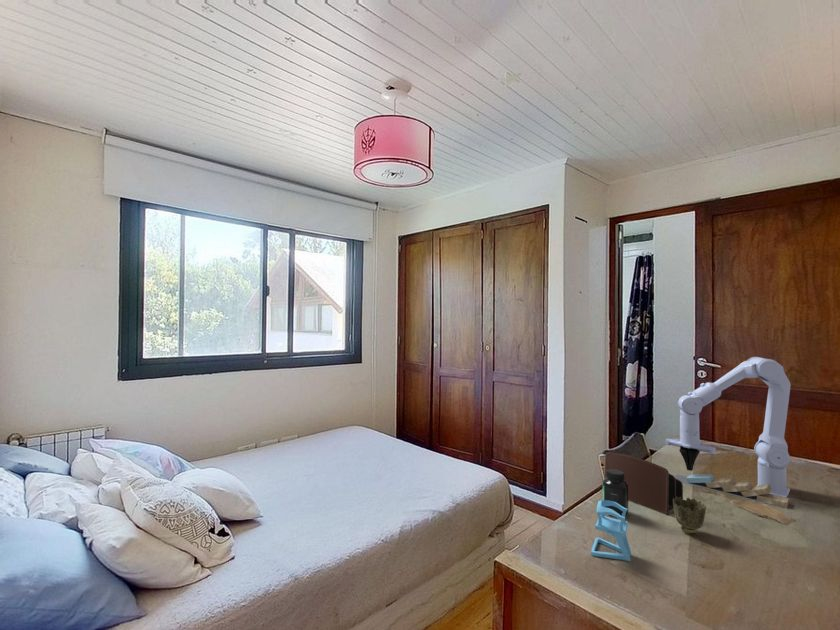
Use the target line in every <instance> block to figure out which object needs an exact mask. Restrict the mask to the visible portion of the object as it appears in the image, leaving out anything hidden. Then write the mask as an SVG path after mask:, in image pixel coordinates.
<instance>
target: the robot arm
mask: <svg viewBox="0 0 840 630" xmlns="http://www.w3.org/2000/svg"><path fill="white" fill-rule="evenodd" d="M784 368H785V367H784V366H782V364H780V363H778V362H777V360H774V359H771V358H764V357H761V356H760V357H759V356H752V357H750V358H748V359H747V360H744V361H743V362H741V363H739V364H738V365H737V366H736V367H734V368H732V369H731V370H729V372H727V373H726V374H724V375H723V376H721V377H720V378H719V379H717V380H716V381H714V382H706V383H704V382H702V383H700V385H699V387H698V388H696V389H694V390H692V391H688V392H687V394H688V395H681V396H680V397H679V398H678V399H679V400H678V401H677V402H676V403H677V404H676V405H677V406H678V408H679V439H676V438H675V439H674V438H665V446H674V447H678V448H679V453H680V454H681V456H682V458H683V461H684V463H685V467H686V471H690V472H692V471H694V466H695V463H696V460H697V458H698V456H699V454H700V452H703V453H708V454H711V455H715V454H716V447H714V446H710V445H707V444H703V443H701V441H700V413H701V411H702V409H703V407H706V406H707V405H708V404H710V403H711V402H714V401H715V400H717V399H719V398H720V397H721V395H722V392H723V391H724V390H726V389H728V388H729V387H731V386H732V385H735V384H736V383H738V382H740V381H742V380H744V379H758V378H759V379H760V380H761V381H762V382H763V383H764V384H766V385H767V387H768V389H767V390H768V391H767V398H766V404H765V406H766V407H765V414H764V422H763V430H762V433H761V434H760V435H759V436H758V441H757V442H755V445H754V448H753V450H754V453H755V454H756V455H757V457H758V458H757V485H756V486H759V485H766V484H769V485H770V487H771V488H772V490H771V492H770V493H769V494H773V495H778V496H782V497H786V498H788V496H789V493H790V491H791V489H790V488H789V487H787V486H788V485H787V466H788V465H789V464H790V462H791V456H790V454H789V451H788V450H789V449H788V448H789V446H788V443H787V441H786V439H785V435H786V434H785V433H786V426H787V425H786V424H787V417H788V410H789V402H790V394H791V393H790V392H791V382H790V380H789V378H788V376H787V375H786V373H785V371H784Z"/></svg>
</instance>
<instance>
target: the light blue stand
mask: <svg viewBox="0 0 840 630" xmlns="http://www.w3.org/2000/svg"><path fill="white" fill-rule="evenodd" d="M605 506H615V507H617V508H619V509H620V510H621V511H623V513H622V516H621V515H619V514H618V513H617V512H615V511H614V510H612V509H610V508H606V507H605ZM626 511H627V508H624V507H622V506H621V505H619V504H618V503H616V502H614V501H609V500H603V499H602V500H598V501H597V506H596V514H597V522H596V523H595V527H594V528H595V529H594V530H598V531H601V532H604V533H606V534H608V535H610V536H611V537H612V538H614V540H615V542H616V543H617V544H618V545H617V544H614V543H613V542H610V541H607V540H605V539H602V538H601V537H595V539H594V542H593V545H592V547H591V549H590V550H591V551H590V553H591V556H593V557H598V558H606V559H613V560H621V561H626V562H630V561H631V556H632V551H631V548H630V544H629V541H628V536H627V534H626V533H627V529H628V526H629V525H628V524H629V523H628V521H627V520H626V517H625V514H626ZM606 515H607V516H606ZM610 515H612V516H611V517H609V516H610ZM613 516H614V518H613ZM616 518H617V519H616ZM598 543H599V544H602V545H604V546H606V547H608V548H610V549H612V550H614V551H616V552H607V551H598V550H597V547H598ZM596 550H597V551H596ZM617 552H619V553H617Z"/></svg>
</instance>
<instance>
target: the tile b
mask: <svg viewBox="0 0 840 630" xmlns="http://www.w3.org/2000/svg"><path fill="white" fill-rule="evenodd" d="M752 487H753V485H752V482H751V481H741V482H739V481H737V482H735V483H734V484H733V485H732V486H731V487H722V488H723V490H724V492H737V491H750V489H751V488H752Z"/></svg>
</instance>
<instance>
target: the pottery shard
mask: <svg viewBox="0 0 840 630" xmlns="http://www.w3.org/2000/svg"><path fill="white" fill-rule="evenodd" d="M730 504H732V505H734V506H736V507H738V508H741V509H742V510H744V511H746V512H748V513H750V514H751V515H754V516H757V517H762V518H763V519H766V520H767V519H768V520H771V521H774V522H776V523H779V524H781V525H784V526H788V525H789V524H791V523H793V522H796V519H794V518H792V517H790V516H788V515H786V514H785V513H783V512H781V511H780V510H777V509H775V508H773V507H771V506H769V505H768V504H765V503H761V502H757V501H746V500H741V499H735V498H734V499H732V500H730Z"/></svg>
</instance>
